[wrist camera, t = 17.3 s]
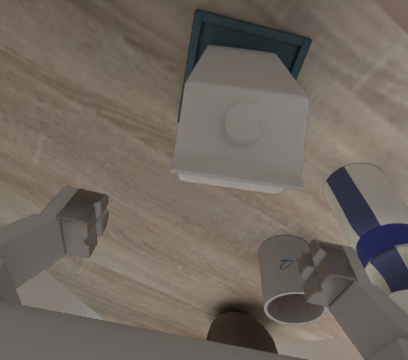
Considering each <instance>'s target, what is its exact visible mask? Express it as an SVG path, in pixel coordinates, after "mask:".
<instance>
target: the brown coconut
mask: <svg viewBox="0 0 408 360" xmlns="http://www.w3.org/2000/svg"><path fill="white" fill-rule="evenodd" d="M206 340H208V341H213V342H218V343H223V344H228V345H234V346H239V347H244V348H249V349H254V350H260V351H265V352H270V353H275V354H278V352H277V349H276V346H275V344H274V341H273V339H272V337H271V335H270V334H269V333H268V331H267V330H266V329H265V328H264V327H263V326H262V325H261V324H260V323H259V322H258V321H256V320H255V319H254V318H252V317H250V316H248V315H246V314H243V313H240V312H232V311H231V312H226V313H223V314H221V315H219V316H218V317H217V318H216V319H215V320H214V321H213V322H212V324H211V326H210V329H209V332H208V336H207V339H206Z"/></svg>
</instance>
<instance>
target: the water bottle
mask: <svg viewBox="0 0 408 360" xmlns="http://www.w3.org/2000/svg"><path fill="white" fill-rule="evenodd" d="M323 193H324V197H325V199H326V200H327V202H328V204H329V206H330V208H331V209H332V211H333V213H334V215H335V217H336V219H337V221H338V223H339V225H340V227H341V229H342V231H343V233H344V235H345V237H346V239H347V241H348V243H349V245H350V246H351V247H352V248H353V249H354V250H355V251H356V253H357V255H358V257H359V259H360V261H361V263H362V265H363V267H364V269H365V271H366V273H367V275H368V277H369V279H370V281H371V283H372V284H373V285H376V286H377V287H378V288H380V289H381V290H382V291H383V292H384V293H385V294H386V295H387V296H388V297H389V298H390V299H391V300H392V301H394V302H395V303H396V304H397V305H398V306H399V307H400V308H401V309H402V310H403V311H404V312H405V313H406V314H408V207H407V206H406V204H405V203H404V202H403V201H402V199H401V198H400V197H399V196H398V194H397V193H396V192H395V190H394V189H393V187H392V186H391V185H390V183H389V182H388V180H387V179H386V178H385V176H384V175H383V173H382V172H381V171H380V170H379V169H378V168H377V167H375V166H373V165H370V164H365V163H357V164H351V165H348V166H345V167H342V168H340V169H339V170H337V171H336V172H334V173H333V174H332V175H331V176H330V177H329V178H328V179H327V181H326V183H325V185H324V189H323Z"/></svg>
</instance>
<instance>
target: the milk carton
mask: <svg viewBox="0 0 408 360" xmlns="http://www.w3.org/2000/svg"><path fill="white" fill-rule="evenodd" d="M308 108H309V98H308V97H307V95H306V94H305V92H304V91H303V90H302V88H301V87H300V86H299V84H298V83H297V82H296V80H295V79H294V78H293V76H292V75H291V74H290V72H289V71H288V69H287V68H286V67H285V65H284V64H283V63H282V61H281V60H280V59H279V57H278V56H277V55H276V53H273V52H266V51H258V50H250V49H243V48H235V47H227V46H219V45H208V46H207V48H206V49H205V51H204V53H203V54H202V56H201V58H200V59H199V61H198V63H197V64H196V66H195V68H194V69H193V71H192V73H191V74H190V76H189V78H188V80H187V82H186V83H185V88H184V94H183V101H182V107H181V114H180V120H179V126H178V133H177V139H176V146H175V152H174V159H173V162H172V164H171V167H170V172H172V173H178V176H179V179H180V180H181V181H187V182H194V183H201V184H208V185H215V186H222V187H229V188H237V189H244V190H251V191H258V192H265V193H272V194H278V193H279V192H281V191H282V190H284V189H285V188H286V189H293V190H300V191H304V189H305V186H304V184H303V181H302V178H301V173H302V164H303V154H304V145H305V136H306V126H307V117H308Z"/></svg>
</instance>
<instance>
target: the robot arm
mask: <svg viewBox="0 0 408 360" xmlns="http://www.w3.org/2000/svg"><path fill="white" fill-rule="evenodd" d="M107 204H108V196H107V195H105V194H101V193H97V192H93V191H89V190H85V189H79V188H75V187H71V186H66V187H64V188H63V189H62V190H61V191H60V192H59V193H58V194H57V195H56V196H55V198H54V199H53V200H52V201H51V202H50V203H49V204H48V205H47V206H46V208H45V209H44V210H43V211H42V212H41V213H40V214H33V215H31V216H28V217H26V218H23V219H21V220H18V221H16V222H13V223H11V224H8V225H6V226H4V227H1V228H0V360H306V359H301V358H296V357H291V356H285V355H280V354H275V353H270V352H265V351H260V350H254V349H249V348H244V347H239V346H234V345H228V344H223V343H218V342H213V341H208V340H202V339H197V338H192V337H187V336H181V335H176V334H171V333H166V332H161V331H155V330H150V329H145V328H140V327H135V326H129V325H124V324H119V323H114V322H108V321H103V320H98V319H93V318H87V317H82V316H77V315H72V314H66V313H62V312H56V311H51V310H46V309H41V308H35V307H30V306H25V305H22V304H21V301H20V298H19V296H18V293H17V291H16V289H17V288H18V287H20V286H21V285H23V284H24V283H26V282H27V281H28V280H30V279H31V278H33V277H34V276H36V275H37V274H39V273H40V272H42V271H43V270H45V269H46V268H48V267H49V266H51V265H52V264H54V263H55V262H56V261H58V260H59V259H61V258H62V257H64V256H65V255H66V254H69V255H75V256H80V257H86V258H90V256H91V254H92V252H93V250H94V249H95V247H96V245H97V237H99V236H101V235H102V234H103V232H104V230H105V228H106V225H107V222H108V216H109V211H108V210H107V209H106V206H107ZM299 273H300V276H301V277H302V279H303V280H304V281H305V283H304V285H303V289H304V293H305V297H306V301H307V303H312V304H316V305H320V306H325V307H329V308H328V309H329V311H330V312H331V314H332V315H333V316H334V318H335V319H336V321H337V322H338V323H339V325H340V326H341V327H342V329H343V330H344V332H345V333H346V334H347V336H348V337H349V339H350V340H351V341H352V343H353V344H354V345H355V347H356V348H357V350H358V351H359V352H360V354H361V355H362V357H363V358H364V360H408V314H406V313H405V312H404V311H403V310H402V309H401V308H400V307H399V306H398V305H397V304H396V303H395V302H394V301H392V300H391V299H390V298H389V297H388V296H387V295H386V294H385V293H384V292H383V291H382V290H381V289H380V288H378V287H377V286H376V285H373V284H372V283H371V281H370V279H369V277H368V275H367V273H366V271H365V269H364V267H363V265H362V263H361V261H360V259H359V257H358V255H357V253H356V251H355V250H354V249H353V248H352V247H348V246H343V245H338V244H333V243H328V242H323V241H319V240H313V241H311V243H310V244H309V251H306V252H304V253H303V254H302V256H301V258H300V261H299Z"/></svg>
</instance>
